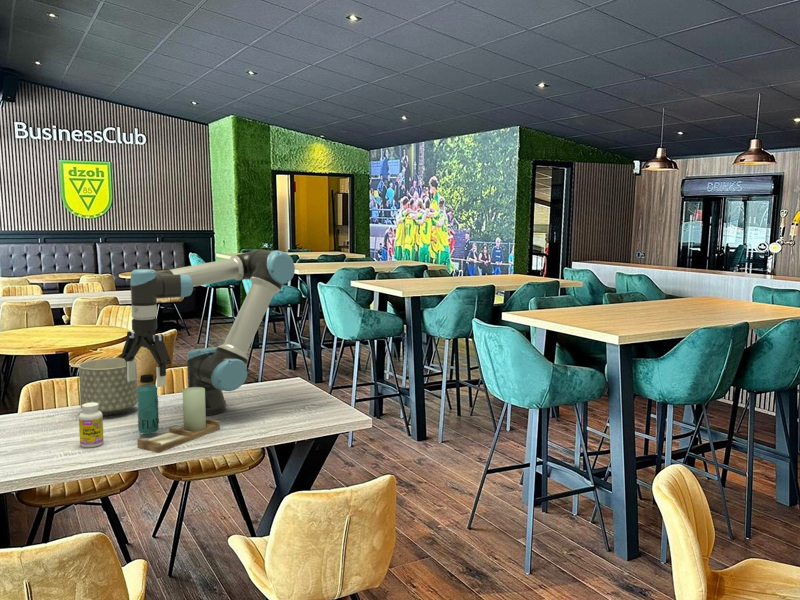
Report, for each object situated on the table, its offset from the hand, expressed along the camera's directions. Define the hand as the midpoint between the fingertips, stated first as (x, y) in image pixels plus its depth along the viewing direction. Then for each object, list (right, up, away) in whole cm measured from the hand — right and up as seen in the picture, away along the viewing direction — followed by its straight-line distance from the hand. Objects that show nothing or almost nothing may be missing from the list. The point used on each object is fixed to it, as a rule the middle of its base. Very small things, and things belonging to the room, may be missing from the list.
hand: (146, 383), depth 210 cm
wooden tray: (+11, -18, 0) cm, 21 cm away
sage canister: (+14, -15, +5) cm, 21 cm away
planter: (-24, -14, +27) cm, 39 cm away
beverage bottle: (0, -17, +2) cm, 18 cm away
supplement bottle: (-14, -18, -7) cm, 24 cm away
